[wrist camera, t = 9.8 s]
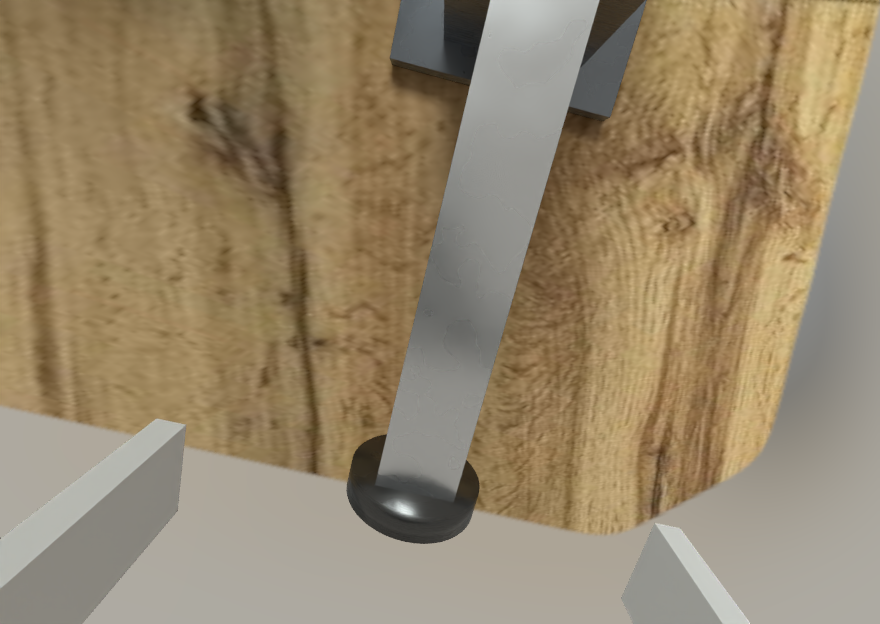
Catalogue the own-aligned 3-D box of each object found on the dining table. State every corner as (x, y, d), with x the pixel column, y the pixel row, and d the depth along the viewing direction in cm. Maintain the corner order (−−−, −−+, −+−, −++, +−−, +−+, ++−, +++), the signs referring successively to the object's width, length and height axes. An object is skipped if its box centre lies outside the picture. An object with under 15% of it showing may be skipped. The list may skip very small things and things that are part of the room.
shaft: (360, 444, 21) (331, 526, 15) (541, -370, 14) (606, -744, 9) (468, 468, 21) (477, 556, 16) (699, -318, 14) (859, -648, 9)
